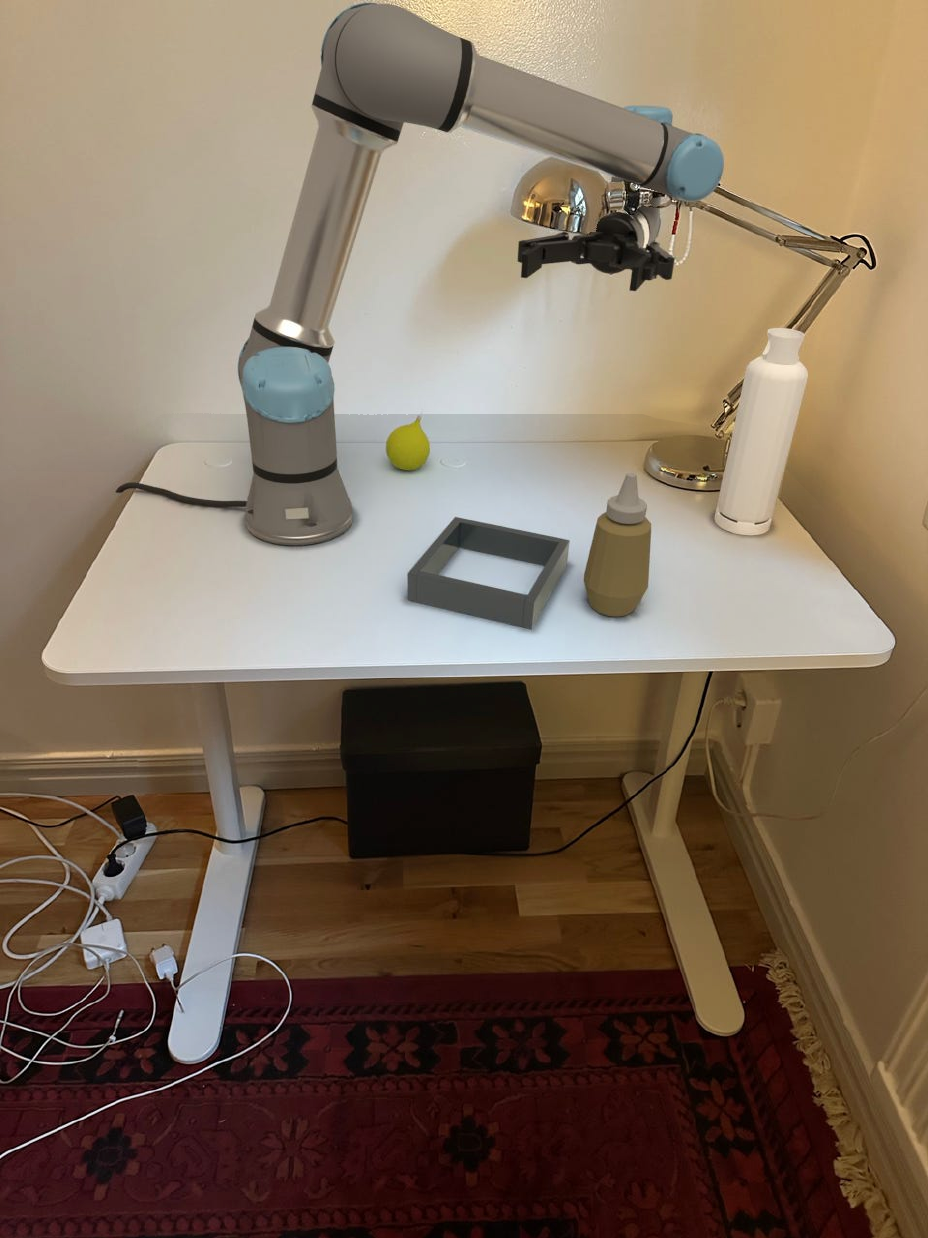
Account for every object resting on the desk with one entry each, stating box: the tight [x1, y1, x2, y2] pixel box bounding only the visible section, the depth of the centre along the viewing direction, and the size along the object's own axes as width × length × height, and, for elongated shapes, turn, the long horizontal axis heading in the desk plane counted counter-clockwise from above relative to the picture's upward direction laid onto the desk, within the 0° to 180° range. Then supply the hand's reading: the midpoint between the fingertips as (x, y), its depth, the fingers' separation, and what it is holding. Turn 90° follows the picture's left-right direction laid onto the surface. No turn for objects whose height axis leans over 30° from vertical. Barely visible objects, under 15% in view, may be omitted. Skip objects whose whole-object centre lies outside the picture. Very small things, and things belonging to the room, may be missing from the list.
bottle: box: [713, 327, 809, 536], centre depth 124 cm, size 8×8×28 cm
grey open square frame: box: [406, 516, 571, 630], centre depth 114 cm, size 16×16×4 cm
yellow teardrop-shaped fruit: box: [385, 410, 431, 471], centre depth 141 cm, size 7×7×10 cm
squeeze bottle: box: [583, 472, 652, 618], centre depth 107 cm, size 8×8×18 cm
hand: (578, 272), depth 106 cm, fingers open, 13 cm apart
